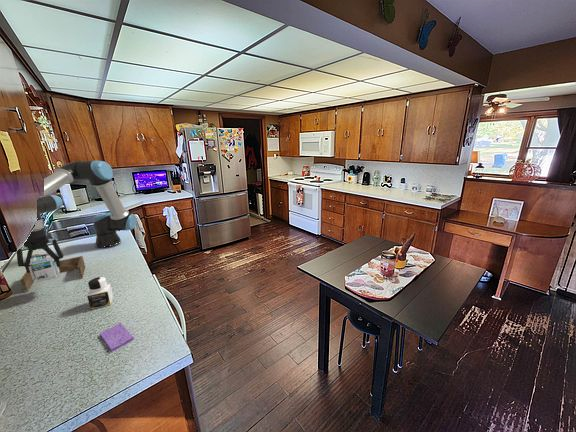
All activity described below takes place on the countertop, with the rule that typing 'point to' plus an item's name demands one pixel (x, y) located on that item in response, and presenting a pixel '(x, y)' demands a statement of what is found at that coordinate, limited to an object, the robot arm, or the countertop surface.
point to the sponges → (116, 336)
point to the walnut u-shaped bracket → (64, 267)
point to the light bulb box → (43, 267)
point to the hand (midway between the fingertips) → (46, 275)
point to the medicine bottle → (99, 293)
